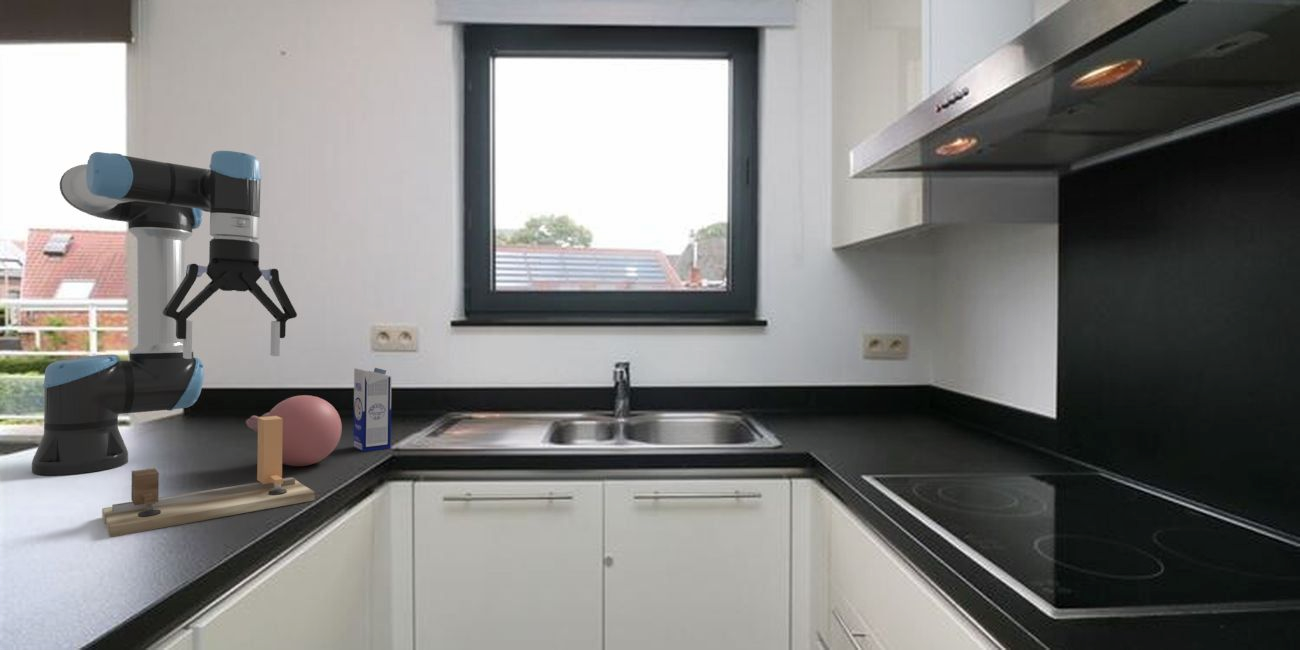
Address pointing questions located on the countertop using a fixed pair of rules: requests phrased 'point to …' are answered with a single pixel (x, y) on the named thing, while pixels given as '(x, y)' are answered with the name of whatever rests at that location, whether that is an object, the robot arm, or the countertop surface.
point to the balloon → (305, 429)
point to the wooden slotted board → (194, 503)
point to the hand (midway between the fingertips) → (232, 357)
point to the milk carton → (372, 410)
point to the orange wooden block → (270, 450)
